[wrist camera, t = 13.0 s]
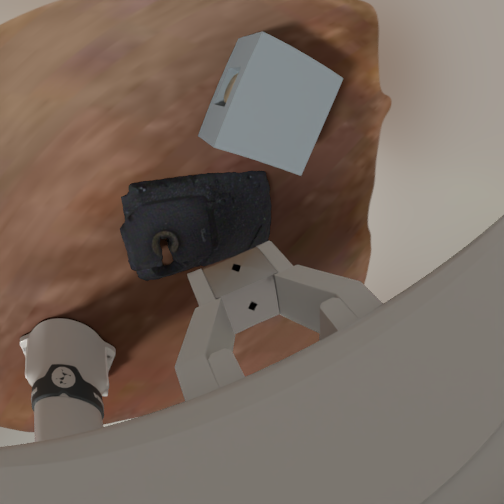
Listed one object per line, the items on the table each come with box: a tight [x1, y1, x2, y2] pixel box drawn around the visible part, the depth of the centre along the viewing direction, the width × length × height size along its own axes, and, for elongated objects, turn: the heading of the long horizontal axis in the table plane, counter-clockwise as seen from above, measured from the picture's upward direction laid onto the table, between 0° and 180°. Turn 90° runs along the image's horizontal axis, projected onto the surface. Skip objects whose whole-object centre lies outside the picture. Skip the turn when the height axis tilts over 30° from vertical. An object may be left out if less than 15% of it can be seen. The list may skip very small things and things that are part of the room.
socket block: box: [198, 32, 343, 176], centre depth 33 cm, size 14×12×7 cm
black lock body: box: [120, 171, 271, 281], centre depth 40 cm, size 15×22×5 cm
